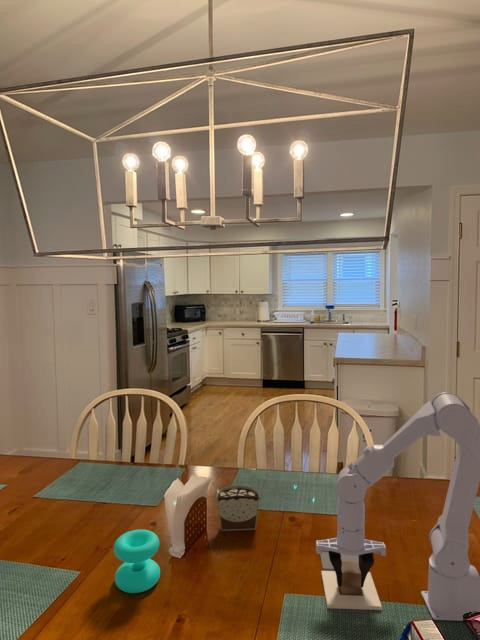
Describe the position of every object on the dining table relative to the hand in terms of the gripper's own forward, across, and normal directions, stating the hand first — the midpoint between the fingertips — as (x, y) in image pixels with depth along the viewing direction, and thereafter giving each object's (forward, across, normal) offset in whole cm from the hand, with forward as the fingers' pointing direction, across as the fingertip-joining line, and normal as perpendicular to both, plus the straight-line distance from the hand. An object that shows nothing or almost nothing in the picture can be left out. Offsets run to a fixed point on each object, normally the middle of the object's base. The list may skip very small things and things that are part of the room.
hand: (349, 584), depth 101 cm
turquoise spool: (+2, +47, -1) cm, 47 cm away
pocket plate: (+2, 0, 0) cm, 2 cm away
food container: (+2, +26, -26) cm, 37 cm away
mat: (+2, 0, -12) cm, 12 cm away
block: (+2, 0, 0) cm, 2 cm away
